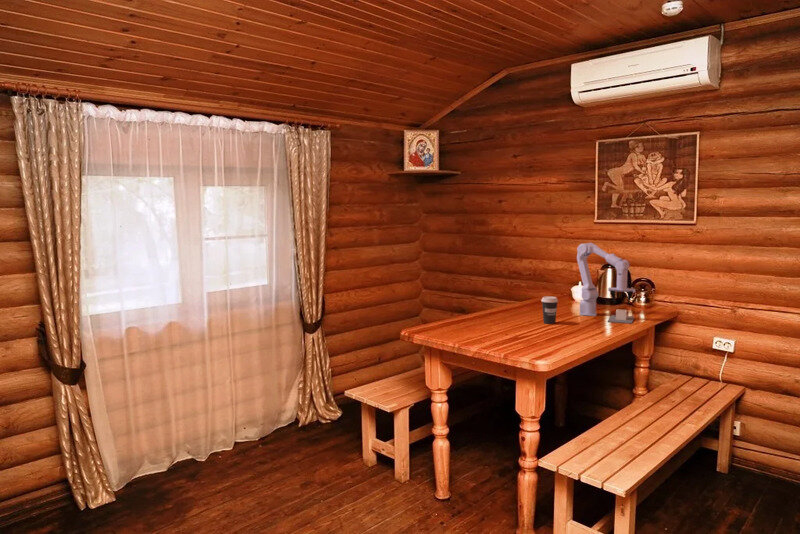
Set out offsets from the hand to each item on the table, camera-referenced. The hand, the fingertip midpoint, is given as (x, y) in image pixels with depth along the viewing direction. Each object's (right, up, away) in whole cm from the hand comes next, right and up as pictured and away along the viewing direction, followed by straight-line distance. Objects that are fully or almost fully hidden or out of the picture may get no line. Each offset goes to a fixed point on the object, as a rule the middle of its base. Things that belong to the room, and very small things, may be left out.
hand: (621, 303), depth 336 cm
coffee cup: (-43, -11, -4) cm, 45 cm away
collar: (0, -9, 0) cm, 9 cm away
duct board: (0, -9, +1) cm, 9 cm away
